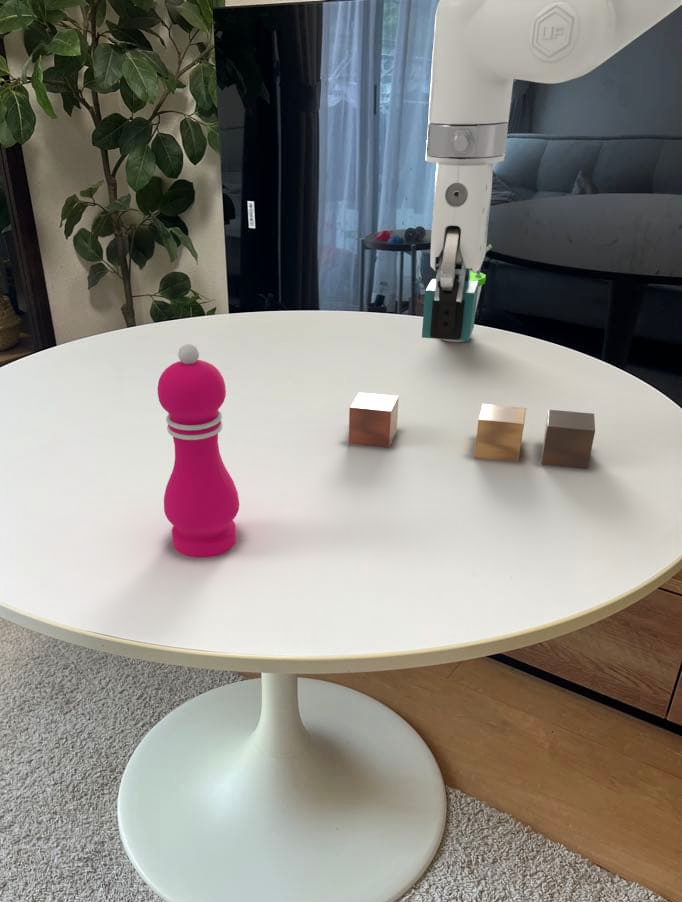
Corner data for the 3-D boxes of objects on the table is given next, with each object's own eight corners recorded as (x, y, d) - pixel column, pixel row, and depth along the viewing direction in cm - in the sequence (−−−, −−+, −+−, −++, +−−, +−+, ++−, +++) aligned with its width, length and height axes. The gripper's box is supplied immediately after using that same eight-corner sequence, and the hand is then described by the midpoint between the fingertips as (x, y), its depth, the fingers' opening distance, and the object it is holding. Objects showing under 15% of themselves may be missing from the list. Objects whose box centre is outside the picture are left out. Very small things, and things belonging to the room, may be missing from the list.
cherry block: (396, 433, 99) (398, 395, 96) (389, 450, 95) (391, 411, 92) (357, 429, 100) (358, 392, 97) (348, 445, 96) (349, 407, 93)
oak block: (520, 446, 95) (526, 407, 92) (518, 464, 91) (524, 424, 88) (477, 442, 96) (482, 403, 93) (473, 459, 92) (478, 419, 89)
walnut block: (586, 453, 93) (594, 413, 90) (587, 471, 89) (595, 430, 86) (542, 448, 94) (548, 409, 91) (540, 466, 90) (547, 426, 87)
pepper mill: (248, 526, 80) (238, 332, 70) (232, 565, 74) (218, 359, 64) (180, 521, 81) (160, 330, 71) (158, 559, 75) (133, 356, 65)
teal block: (473, 327, 87) (478, 281, 84) (469, 341, 83) (474, 292, 80) (428, 324, 88) (431, 278, 86) (421, 337, 84) (425, 290, 82)
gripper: (499, 154, 68) (476, 358, 78) (511, 135, 82) (490, 310, 91) (413, 153, 70) (400, 352, 80) (438, 135, 84) (425, 307, 93)
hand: (448, 328), depth 85 cm, fingers closed on teal block, 5 cm apart
